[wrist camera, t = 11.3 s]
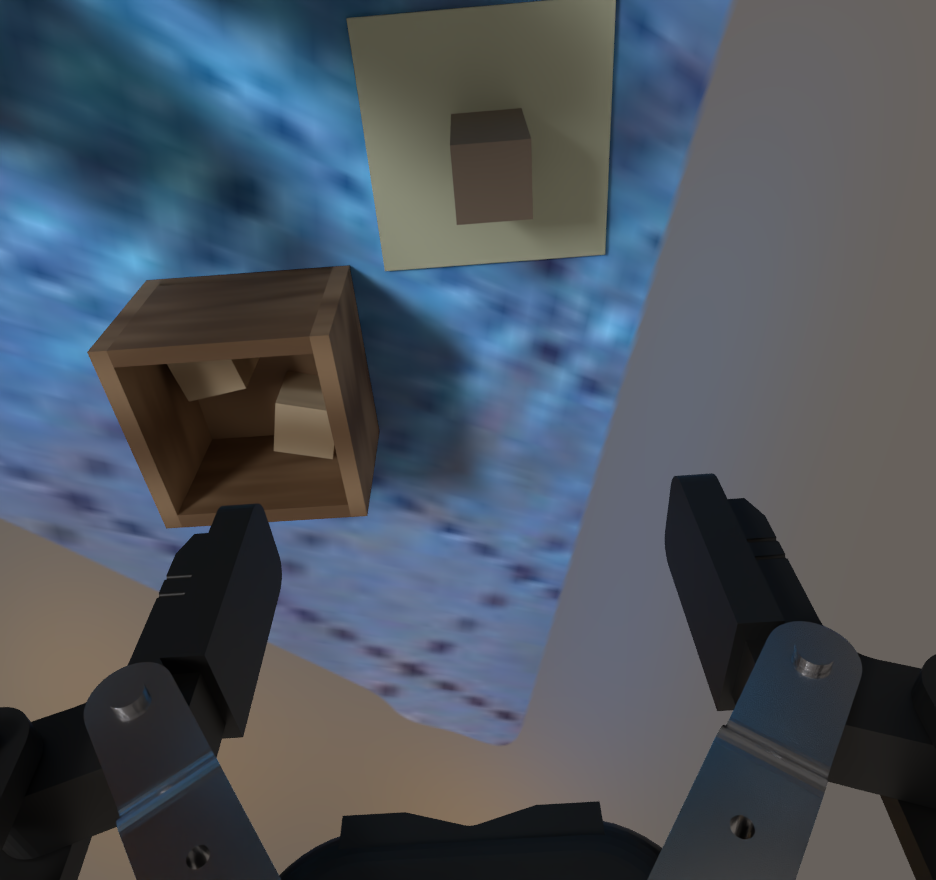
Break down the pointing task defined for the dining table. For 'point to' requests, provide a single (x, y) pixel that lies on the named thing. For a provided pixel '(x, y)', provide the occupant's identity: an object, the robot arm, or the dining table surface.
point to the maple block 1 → (213, 376)
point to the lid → (487, 130)
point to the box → (242, 393)
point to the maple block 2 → (302, 418)
